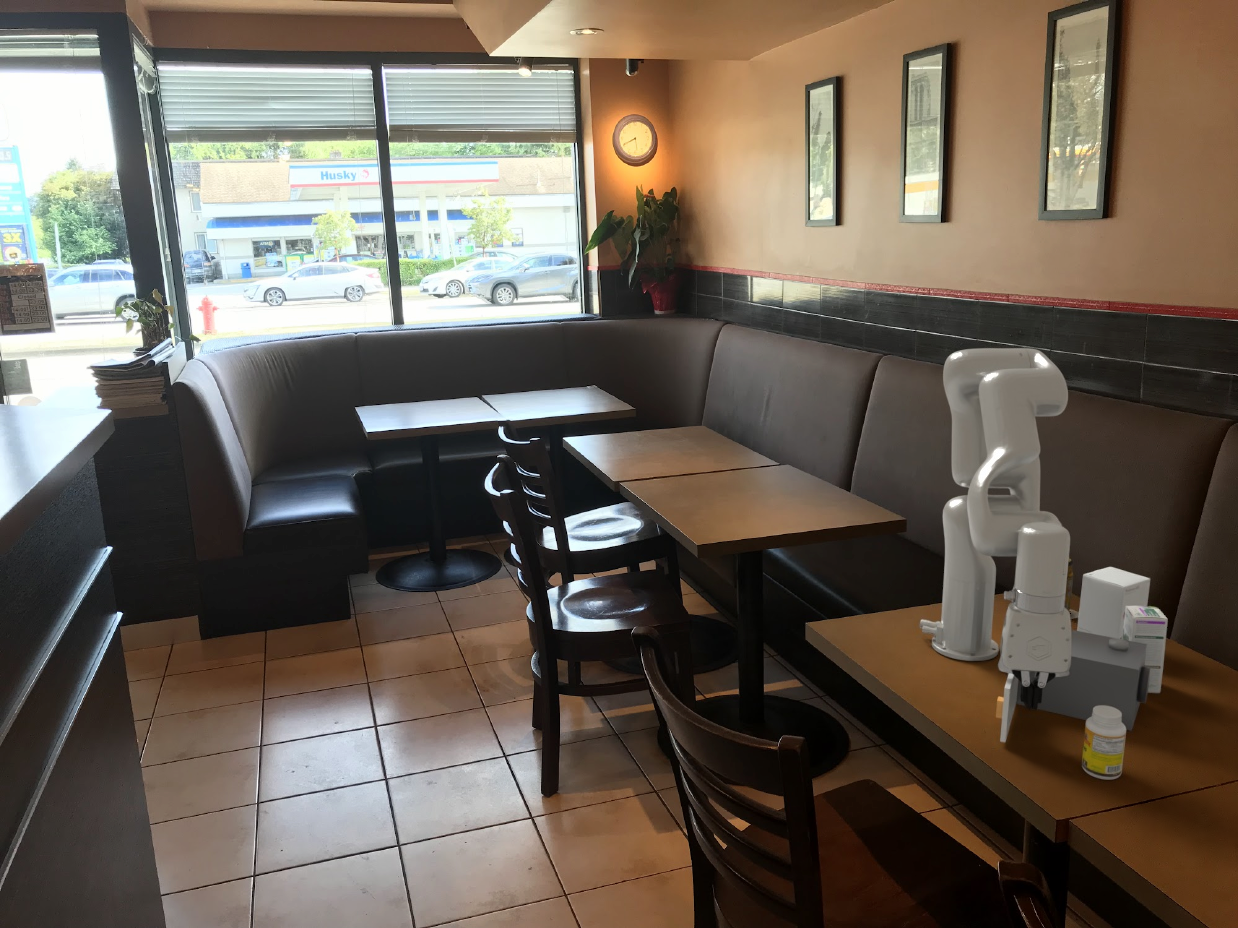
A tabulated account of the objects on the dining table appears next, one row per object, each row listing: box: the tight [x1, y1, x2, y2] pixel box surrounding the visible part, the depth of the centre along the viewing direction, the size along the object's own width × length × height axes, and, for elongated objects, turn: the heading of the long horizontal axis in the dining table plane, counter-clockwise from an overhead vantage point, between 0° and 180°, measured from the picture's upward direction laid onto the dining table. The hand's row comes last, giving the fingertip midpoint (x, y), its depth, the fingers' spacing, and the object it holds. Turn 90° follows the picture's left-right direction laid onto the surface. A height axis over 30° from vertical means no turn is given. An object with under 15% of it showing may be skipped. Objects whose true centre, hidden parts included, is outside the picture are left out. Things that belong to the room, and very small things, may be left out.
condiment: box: [1064, 558, 1079, 620], centre depth 210 cm, size 7×8×12 cm
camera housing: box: [1006, 629, 1150, 732], centre depth 170 cm, size 21×12×12 cm, turn 56°
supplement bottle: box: [1081, 705, 1127, 781], centre depth 148 cm, size 6×6×10 cm
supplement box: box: [1076, 566, 1151, 639], centre depth 192 cm, size 9×9×15 cm
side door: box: [995, 673, 1019, 743], centre depth 163 cm, size 16×2×9 cm, turn 152°
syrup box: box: [1122, 605, 1169, 694], centre depth 175 cm, size 6×6×14 cm
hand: (1030, 705), depth 159 cm, fingers closed
